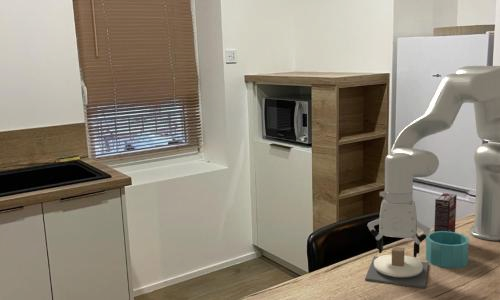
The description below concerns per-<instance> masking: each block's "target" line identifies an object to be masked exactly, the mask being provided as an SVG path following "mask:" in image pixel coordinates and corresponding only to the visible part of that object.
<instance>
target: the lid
mask: <svg viewBox="0 0 500 300" xmlns="http://www.w3.org/2000/svg"><path fill="white" fill-rule="evenodd" d="M377 257H378V258H376V259H375V260H374V268H375V269H376V270H377V271H378V272H380V273H382V274H385V275H388V276H393V277H412V276H416V275H418V274H420V273H421V272H422V270H423V265H422V263H421V262H422V261H420V260H419V259H417V258H416V257H414V256H413V257H412V256H409V255H405V247H400V246H392V248H391V254H385V255H384V254H383V255H380V256H377Z"/></svg>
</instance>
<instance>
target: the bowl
mask: <svg viewBox="0 0 500 300" xmlns="http://www.w3.org/2000/svg"><path fill="white" fill-rule="evenodd" d="M425 241H426V242H425V244H426V245H425V247H426V248H425V249H426V250H425V260H426V262H428V264H429V263H430V265H434V266H436V267H439V268H445V269H458V268H460V269H461V268H464V267H466V266H467V265H469V251H470V250H469V245H470V244H469V243H470V238H469V237H467V236H466V235H465V234H463V233H458V232H456V231H455V232H448V231H437V232H434V231H432V232H431V231H430V232H429V234H428V235H427V237H426V239H425Z"/></svg>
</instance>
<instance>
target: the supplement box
mask: <svg viewBox="0 0 500 300" xmlns="http://www.w3.org/2000/svg"><path fill="white" fill-rule="evenodd" d="M434 203H435V206H434V227H433V228H434V229H433V232H437V231H448V232H455V233H456V220H457V219H456V217H457V194H453V193H444V192H443V193H442V194H441V195H439V196H438V197H437V198H435V201H434Z"/></svg>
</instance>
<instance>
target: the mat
mask: <svg viewBox="0 0 500 300" xmlns="http://www.w3.org/2000/svg"><path fill="white" fill-rule="evenodd" d="M378 257H379V256H373V258H372V261H371V263H370V265H369V268H368V270H367V273H366V275H365V277H364V281H369V282H374V283H383V284H390V285H397V286H402V287H403V286H405V287H412V288H419V289H420V288H421V289H426V282H427V276H428V270H429V262H428V261H420V262H421V263H422V265H423V270H422V272H421V273H420V274H418V275H416V276H412V277H393V276H388V275H385V274H382V273H380V272H378V271H377V270H376V269H375V268H374V260H375V259H376V258H378Z"/></svg>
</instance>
